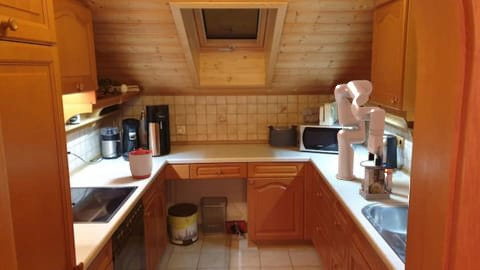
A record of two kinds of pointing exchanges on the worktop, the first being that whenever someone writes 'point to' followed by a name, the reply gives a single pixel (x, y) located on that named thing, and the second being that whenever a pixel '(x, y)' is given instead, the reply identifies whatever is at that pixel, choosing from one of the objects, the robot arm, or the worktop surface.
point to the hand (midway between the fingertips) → (374, 163)
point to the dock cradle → (374, 195)
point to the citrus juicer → (140, 163)
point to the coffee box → (374, 180)
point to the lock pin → (388, 180)
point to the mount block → (362, 184)
